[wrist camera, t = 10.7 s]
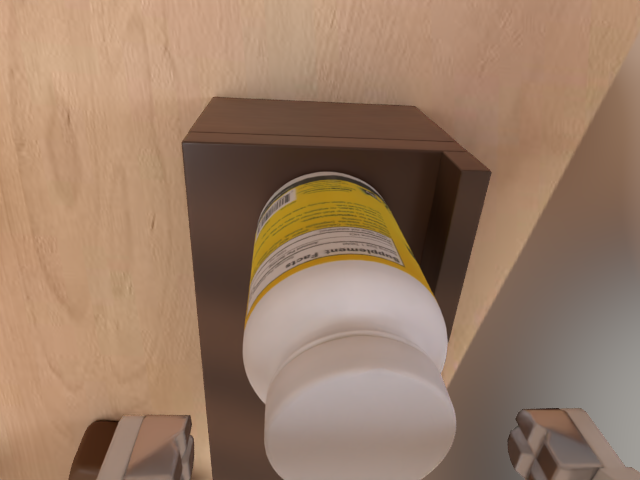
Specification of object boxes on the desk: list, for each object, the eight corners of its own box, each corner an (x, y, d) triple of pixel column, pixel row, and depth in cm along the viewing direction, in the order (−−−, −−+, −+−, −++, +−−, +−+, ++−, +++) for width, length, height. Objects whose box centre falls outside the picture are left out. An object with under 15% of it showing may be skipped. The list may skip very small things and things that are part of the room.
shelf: (212, 96, 26) (167, 160, 16) (415, 106, 27) (492, 171, 17) (230, 425, 39) (212, 572, 29) (365, 422, 40) (392, 563, 30)
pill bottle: (378, 291, 22) (450, 520, 12) (252, 282, 21) (226, 520, 12) (405, 173, 19) (527, 354, 10) (261, 158, 18) (235, 338, 9)
